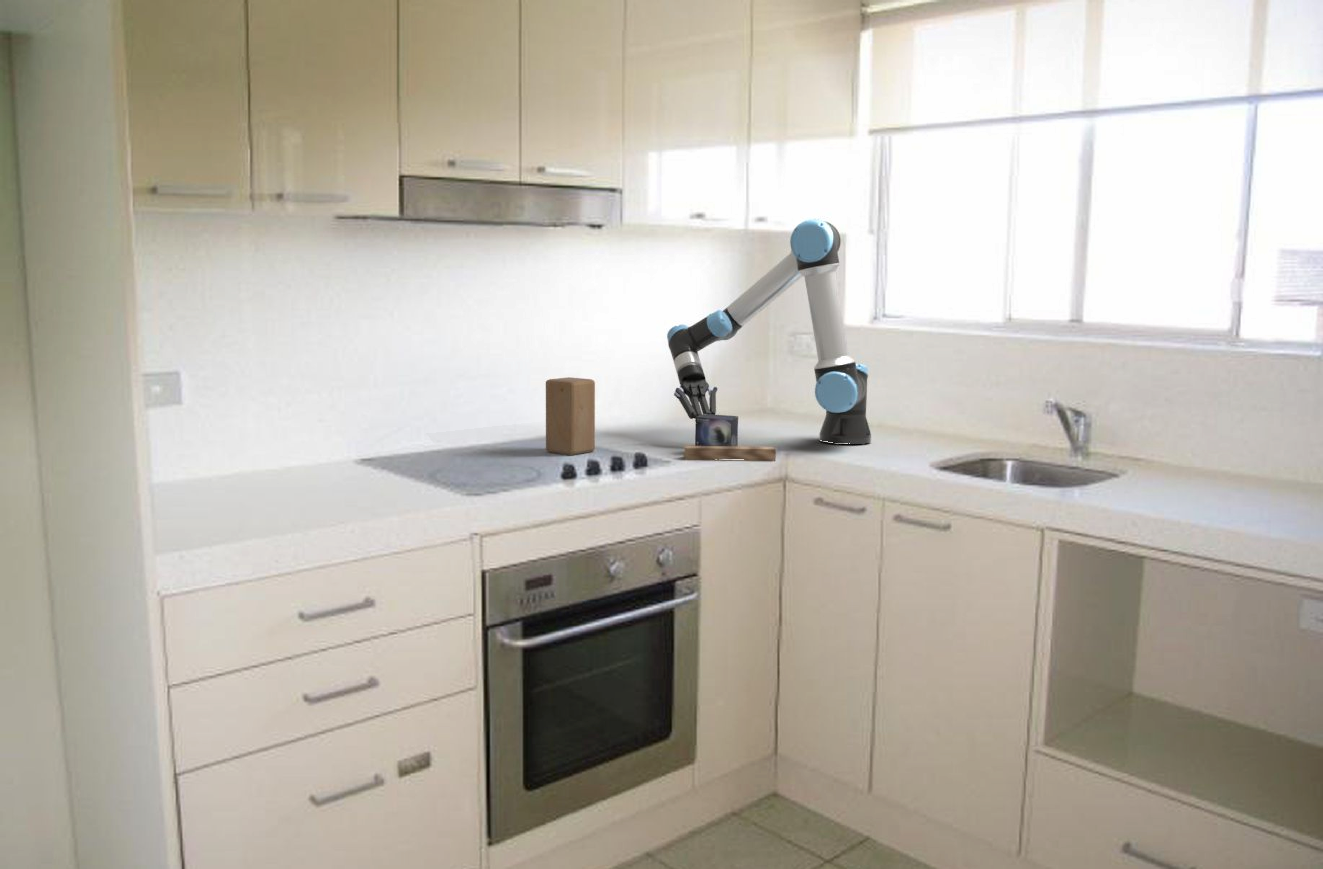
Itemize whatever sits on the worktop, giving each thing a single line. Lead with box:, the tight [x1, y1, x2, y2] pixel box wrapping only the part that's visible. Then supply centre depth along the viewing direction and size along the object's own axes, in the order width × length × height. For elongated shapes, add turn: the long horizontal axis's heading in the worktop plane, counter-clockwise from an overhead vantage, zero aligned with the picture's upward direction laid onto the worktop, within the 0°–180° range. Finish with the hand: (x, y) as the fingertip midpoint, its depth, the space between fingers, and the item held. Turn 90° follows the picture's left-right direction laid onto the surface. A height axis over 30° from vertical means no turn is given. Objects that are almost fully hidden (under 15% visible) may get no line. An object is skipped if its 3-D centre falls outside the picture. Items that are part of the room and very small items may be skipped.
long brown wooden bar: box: [683, 445, 777, 462], centre depth 293 cm, size 24×4×4 cm, turn 89°
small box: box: [694, 413, 739, 446], centre depth 301 cm, size 11×6×10 cm, turn 67°
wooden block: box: [545, 377, 596, 456], centre depth 301 cm, size 10×10×20 cm
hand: (709, 436), depth 306 cm, fingers closed
